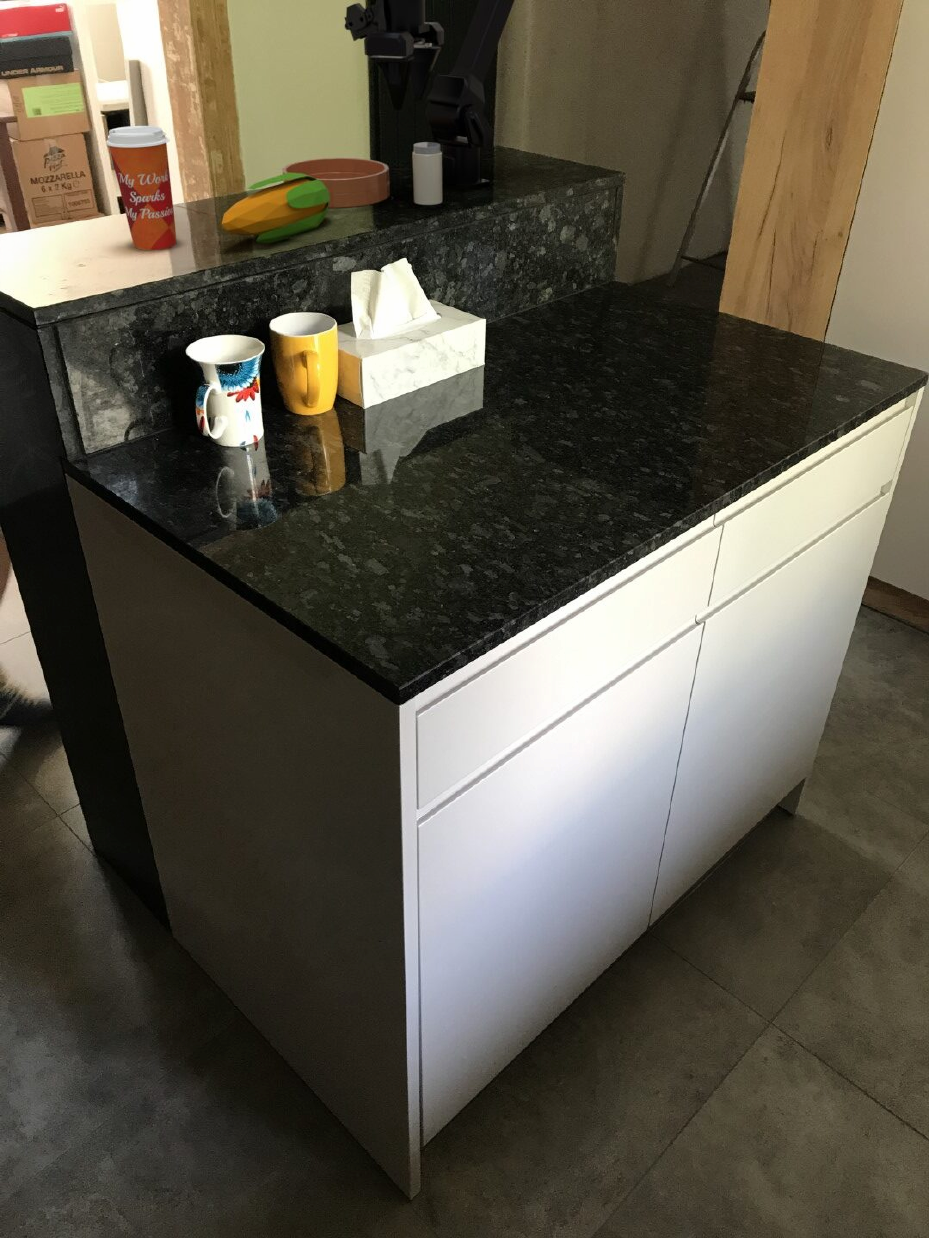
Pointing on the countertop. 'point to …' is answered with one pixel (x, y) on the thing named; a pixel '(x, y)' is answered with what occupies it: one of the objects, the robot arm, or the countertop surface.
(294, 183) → the corn
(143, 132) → the paper cup
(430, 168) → the cylinder
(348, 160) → the bowl
